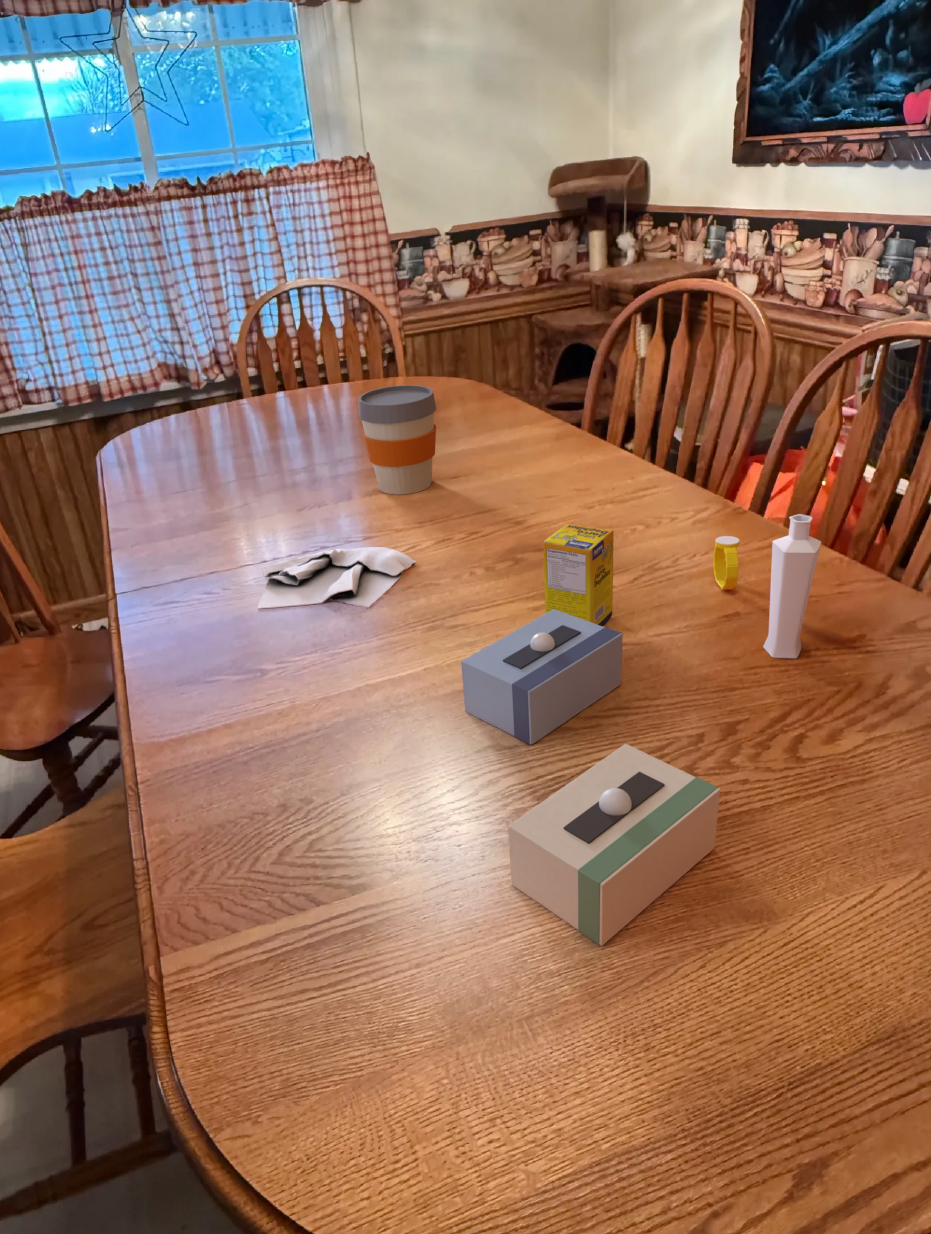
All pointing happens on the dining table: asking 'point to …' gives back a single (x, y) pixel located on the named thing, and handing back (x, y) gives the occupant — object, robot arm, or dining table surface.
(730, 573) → the watch
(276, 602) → the cloth
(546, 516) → the dining table surface
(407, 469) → the reusable coffee cup
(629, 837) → the cream tissue box
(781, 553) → the perfume bottle
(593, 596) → the supplement box
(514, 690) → the blue tissue box
